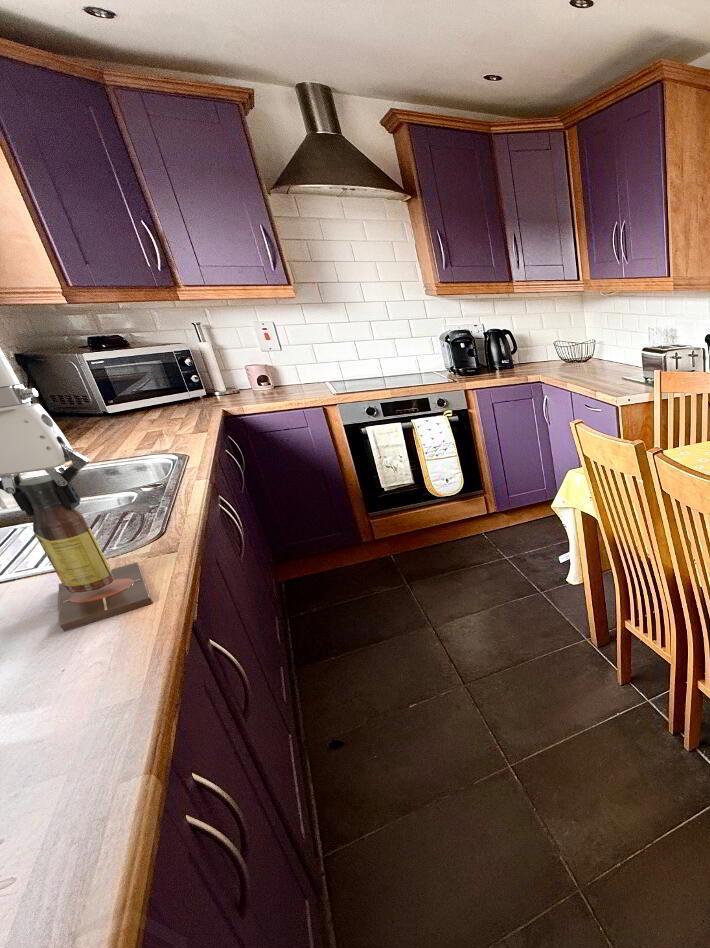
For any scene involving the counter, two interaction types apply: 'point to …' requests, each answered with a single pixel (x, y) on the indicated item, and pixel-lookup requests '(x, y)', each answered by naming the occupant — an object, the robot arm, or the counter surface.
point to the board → (104, 598)
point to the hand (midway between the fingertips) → (54, 509)
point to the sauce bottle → (66, 538)
